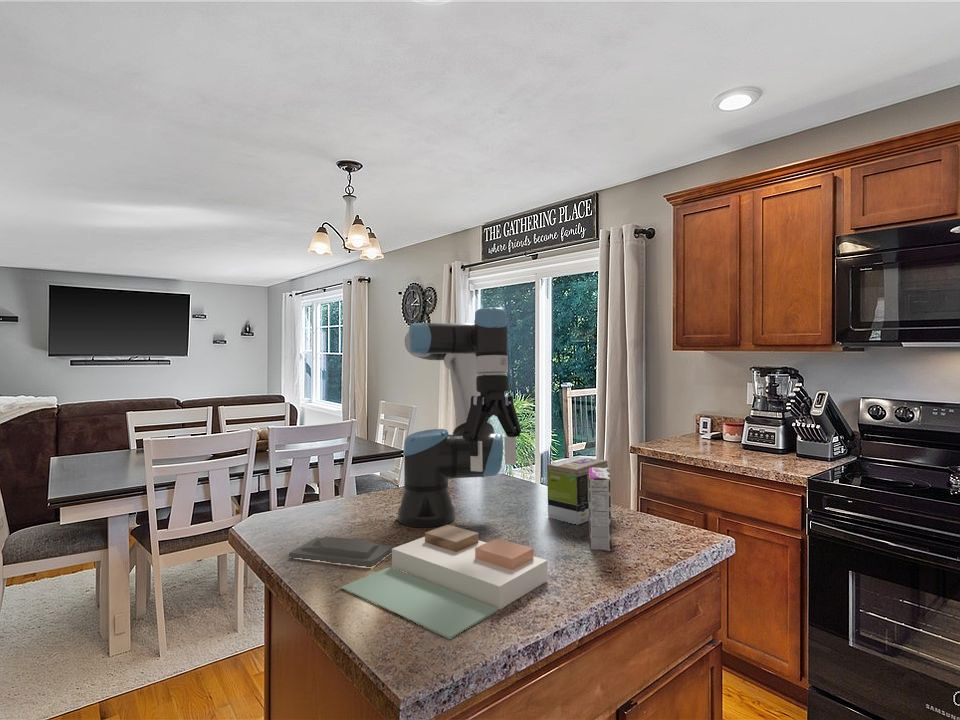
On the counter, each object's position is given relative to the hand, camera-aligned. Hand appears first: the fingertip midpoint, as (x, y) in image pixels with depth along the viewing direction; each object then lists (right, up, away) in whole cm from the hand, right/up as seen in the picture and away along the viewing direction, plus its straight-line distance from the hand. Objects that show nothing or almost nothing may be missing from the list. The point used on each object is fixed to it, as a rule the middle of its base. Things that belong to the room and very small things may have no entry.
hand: (494, 467), depth 122 cm
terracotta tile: (+1, -14, -18) cm, 23 cm away
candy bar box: (+25, -18, +2) cm, 30 cm away
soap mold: (-33, -19, -5) cm, 39 cm away
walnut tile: (-9, -14, -9) cm, 19 cm away
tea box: (+23, -18, +23) cm, 37 cm away
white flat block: (-6, -18, -16) cm, 25 cm away
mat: (-15, -18, -26) cm, 35 cm away
